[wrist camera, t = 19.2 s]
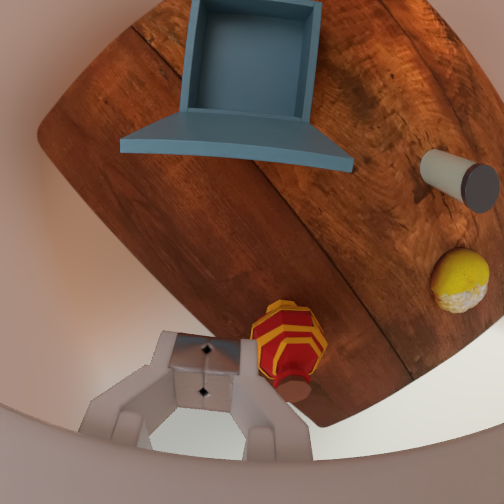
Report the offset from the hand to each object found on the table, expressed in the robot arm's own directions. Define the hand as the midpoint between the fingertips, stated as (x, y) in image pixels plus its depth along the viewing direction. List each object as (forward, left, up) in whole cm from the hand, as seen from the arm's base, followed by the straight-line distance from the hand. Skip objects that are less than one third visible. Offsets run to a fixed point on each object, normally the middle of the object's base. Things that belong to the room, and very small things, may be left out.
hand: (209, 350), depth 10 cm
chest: (-9, -10, -30) cm, 33 cm away
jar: (-22, +15, -30) cm, 40 cm away
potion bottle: (+8, +20, -31) cm, 38 cm away
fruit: (-18, +32, -31) cm, 48 cm away
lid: (-4, -4, -16) cm, 17 cm away
